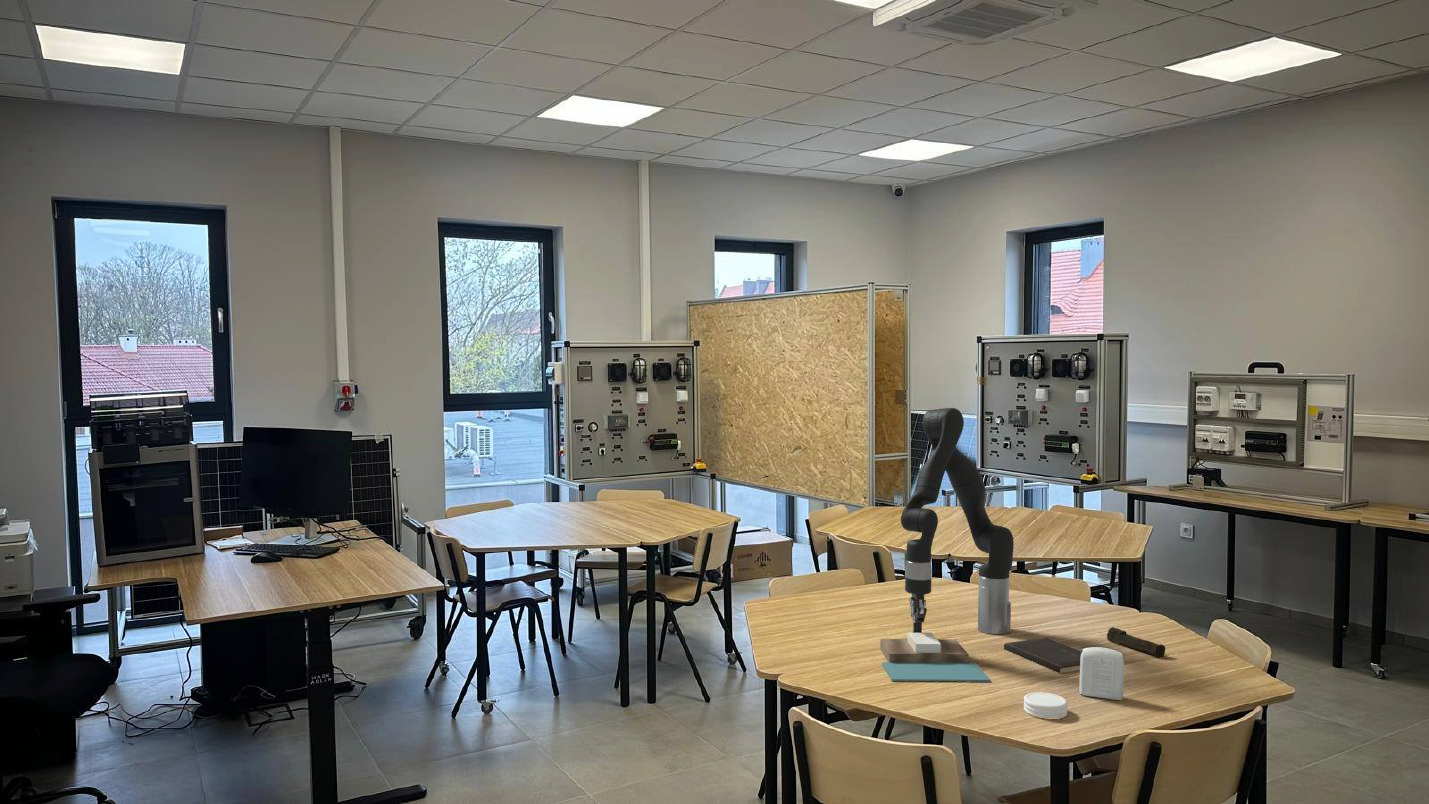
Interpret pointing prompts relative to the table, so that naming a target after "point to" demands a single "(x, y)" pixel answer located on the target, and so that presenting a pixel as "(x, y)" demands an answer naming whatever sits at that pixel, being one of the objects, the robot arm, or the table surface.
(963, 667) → the mat
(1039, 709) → the white disc stack
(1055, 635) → the table surface
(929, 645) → the white flat block
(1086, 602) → the table surface
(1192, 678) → the table surface
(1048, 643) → the hardcover book
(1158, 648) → the hand tool
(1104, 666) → the white upright block
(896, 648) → the deck
